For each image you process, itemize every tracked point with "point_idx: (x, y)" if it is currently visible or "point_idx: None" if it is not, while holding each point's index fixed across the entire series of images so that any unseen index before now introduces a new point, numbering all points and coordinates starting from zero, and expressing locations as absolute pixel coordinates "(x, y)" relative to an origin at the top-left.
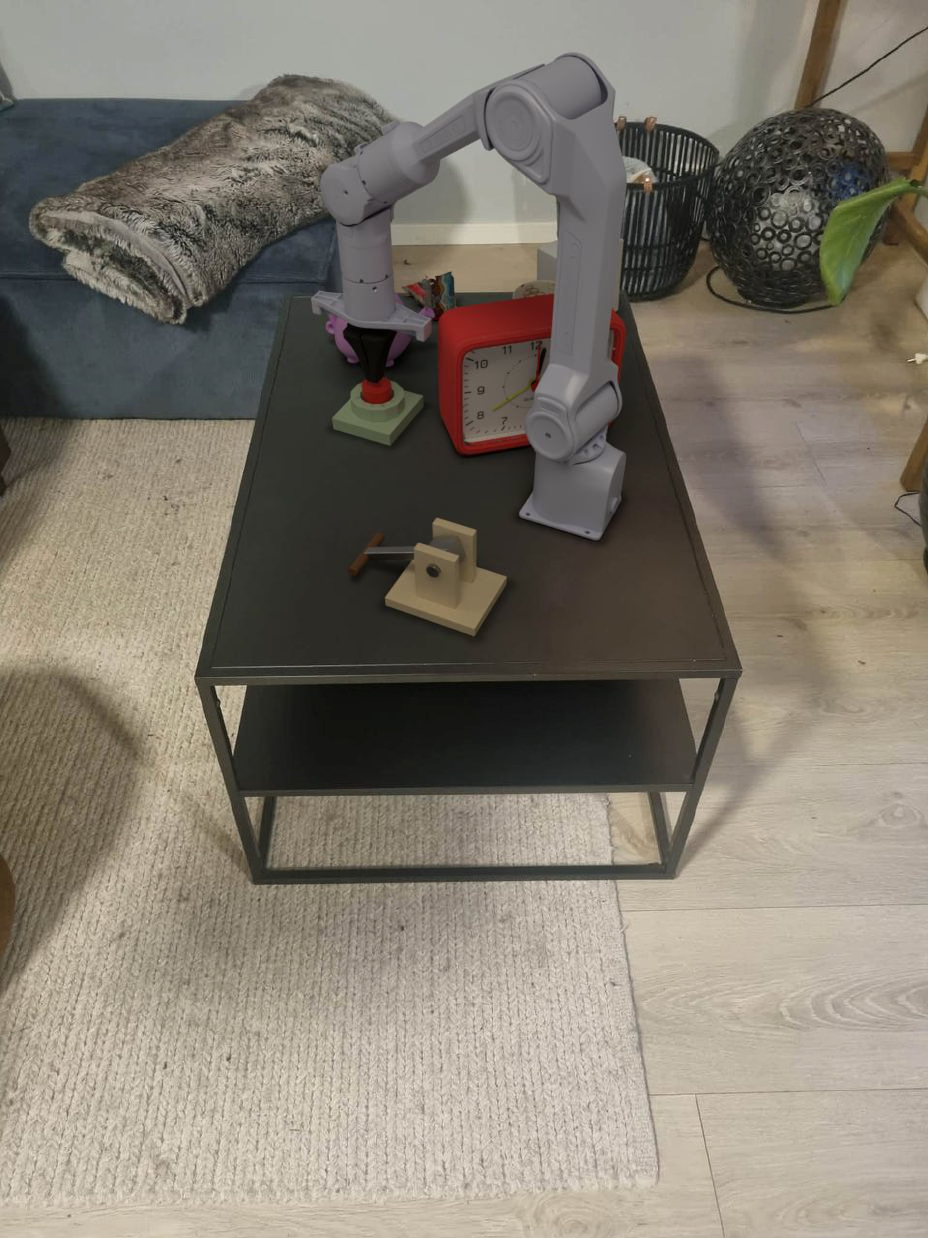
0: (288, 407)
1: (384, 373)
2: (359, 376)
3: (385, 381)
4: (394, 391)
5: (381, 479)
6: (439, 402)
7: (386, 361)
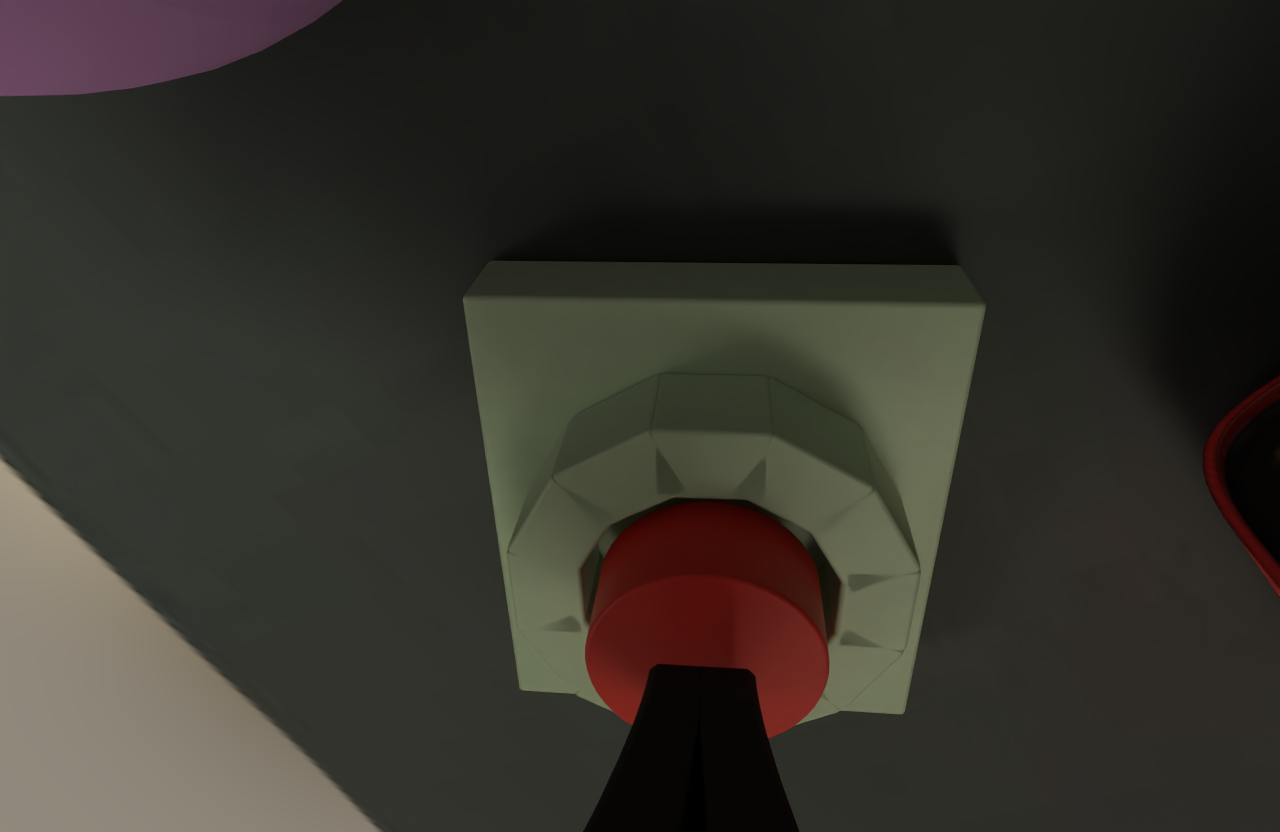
0: (209, 562)
1: (756, 691)
2: (303, 108)
3: (756, 621)
4: (818, 539)
5: (942, 822)
6: (1265, 573)
7: (780, 782)
